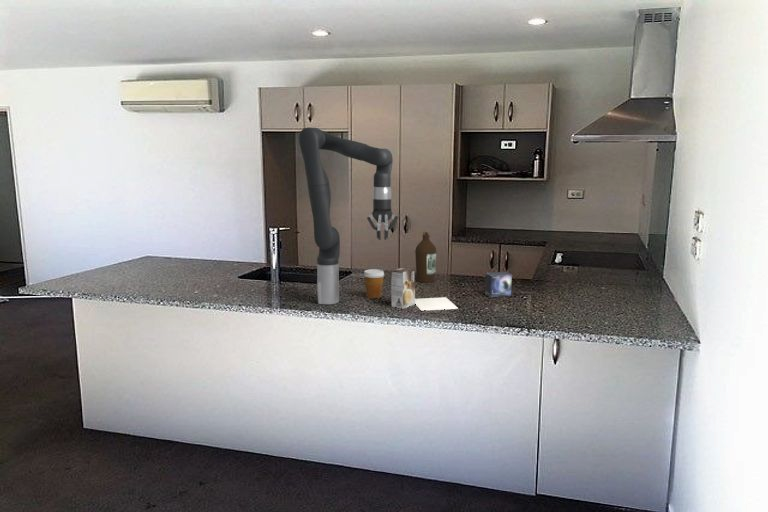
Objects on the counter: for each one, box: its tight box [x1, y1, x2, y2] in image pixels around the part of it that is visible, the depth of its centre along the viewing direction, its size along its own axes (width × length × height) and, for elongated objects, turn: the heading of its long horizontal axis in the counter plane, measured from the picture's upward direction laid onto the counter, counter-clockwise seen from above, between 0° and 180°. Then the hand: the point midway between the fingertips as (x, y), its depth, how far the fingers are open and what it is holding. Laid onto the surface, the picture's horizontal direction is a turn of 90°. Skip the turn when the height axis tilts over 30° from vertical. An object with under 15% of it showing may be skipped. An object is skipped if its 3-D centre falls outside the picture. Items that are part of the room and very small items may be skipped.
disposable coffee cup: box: [363, 268, 385, 299], centre depth 263 cm, size 10×10×12 cm
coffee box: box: [390, 266, 416, 310], centre depth 248 cm, size 9×6×16 cm
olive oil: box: [414, 231, 437, 284], centre depth 294 cm, size 11×11×25 cm
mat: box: [415, 296, 459, 311], centre depth 252 cm, size 16×18×1 cm
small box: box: [484, 271, 513, 299], centre depth 265 cm, size 11×6×10 cm, turn 105°
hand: (382, 239), depth 243 cm, fingers closed
